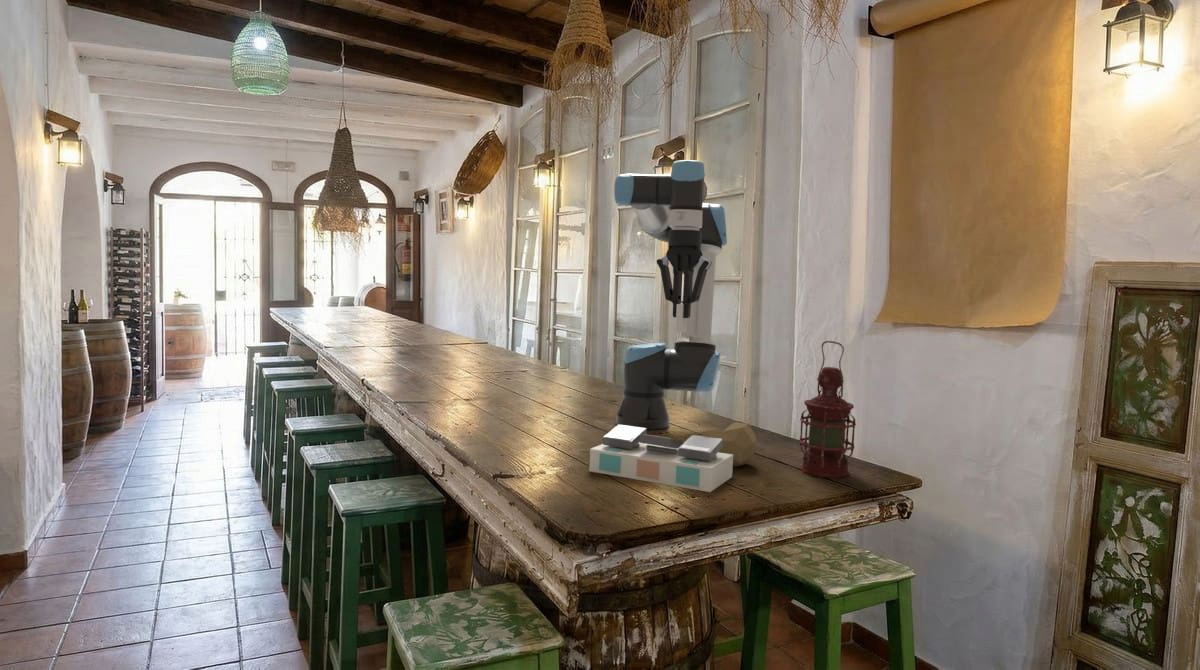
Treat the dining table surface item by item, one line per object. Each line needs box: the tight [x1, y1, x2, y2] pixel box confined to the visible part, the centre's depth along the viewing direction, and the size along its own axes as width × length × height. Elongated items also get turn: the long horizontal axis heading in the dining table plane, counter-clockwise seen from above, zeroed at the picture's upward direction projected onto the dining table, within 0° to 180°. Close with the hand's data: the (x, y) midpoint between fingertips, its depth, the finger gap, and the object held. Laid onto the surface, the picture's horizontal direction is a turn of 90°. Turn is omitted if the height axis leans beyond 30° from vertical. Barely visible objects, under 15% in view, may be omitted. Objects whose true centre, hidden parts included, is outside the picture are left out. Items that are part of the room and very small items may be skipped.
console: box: [588, 442, 734, 493], centre depth 175 cm, size 14×28×6 cm, turn 62°
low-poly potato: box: [702, 421, 757, 468], centre depth 186 cm, size 15×11×12 cm
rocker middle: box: [640, 434, 685, 448], centre depth 175 cm, size 8×7×2 cm
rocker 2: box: [678, 434, 723, 461], centre depth 171 cm, size 8×7×2 cm
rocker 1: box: [602, 424, 648, 449], centre depth 179 cm, size 8×7×2 cm
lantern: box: [798, 340, 857, 479], centre depth 181 cm, size 12×12×30 cm
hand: (680, 332), depth 185 cm, fingers closed
